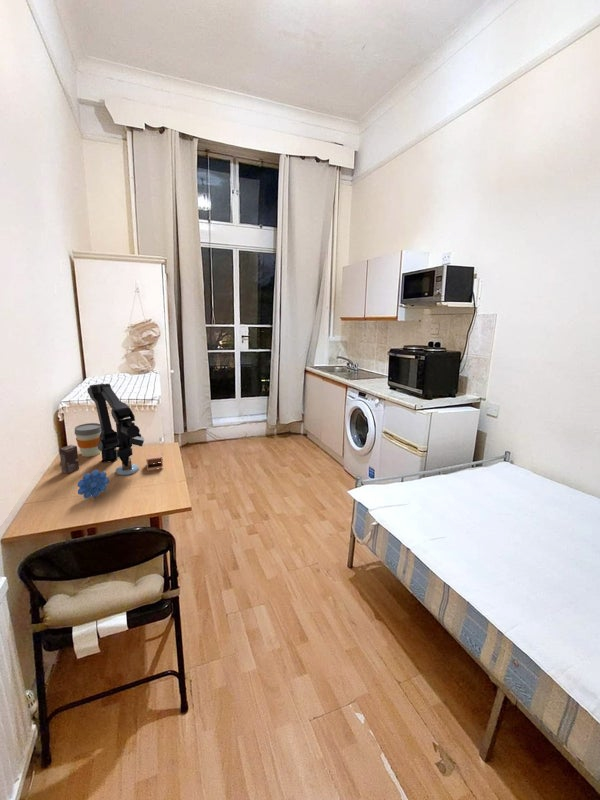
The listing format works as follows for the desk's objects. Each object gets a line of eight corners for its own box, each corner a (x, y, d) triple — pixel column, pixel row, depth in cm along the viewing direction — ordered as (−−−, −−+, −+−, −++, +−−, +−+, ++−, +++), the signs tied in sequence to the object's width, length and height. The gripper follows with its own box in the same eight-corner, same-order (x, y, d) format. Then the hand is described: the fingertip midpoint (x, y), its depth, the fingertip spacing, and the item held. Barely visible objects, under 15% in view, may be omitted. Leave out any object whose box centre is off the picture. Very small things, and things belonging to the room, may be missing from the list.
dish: (113, 476, 165) (112, 473, 165) (119, 466, 174) (118, 464, 174) (136, 474, 167) (135, 472, 167) (140, 465, 176) (140, 463, 176)
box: (68, 474, 166) (64, 450, 163) (61, 472, 167) (58, 448, 164) (80, 469, 171) (77, 445, 168) (74, 467, 173) (70, 444, 170)
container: (147, 470, 171) (146, 459, 170) (146, 464, 178) (145, 453, 176) (163, 468, 174) (162, 457, 173) (162, 462, 181) (161, 451, 179)
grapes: (110, 489, 153) (107, 463, 150) (111, 496, 148) (108, 470, 145) (79, 495, 147) (75, 469, 144) (78, 503, 142) (74, 476, 139)
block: (131, 469, 170) (131, 460, 168) (122, 470, 168) (121, 462, 167) (131, 466, 173) (130, 457, 172) (122, 467, 171) (121, 458, 170)
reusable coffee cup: (96, 458, 183) (92, 431, 180) (72, 457, 183) (68, 430, 180) (109, 449, 195) (106, 423, 192) (86, 448, 196) (83, 422, 192)
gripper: (142, 436, 161) (145, 468, 165) (141, 424, 177) (144, 453, 181) (115, 440, 156) (118, 472, 160) (116, 427, 173) (120, 456, 177)
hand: (126, 463), depth 170 cm, fingers open, 7 cm apart
